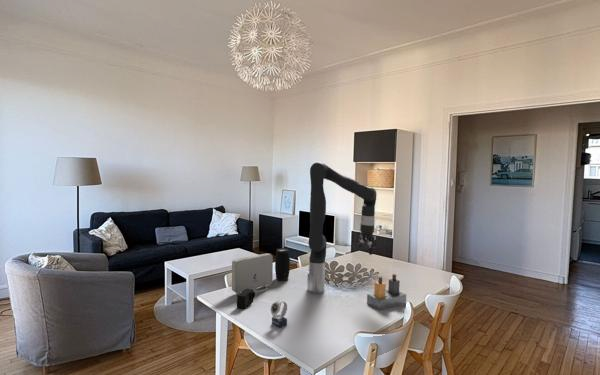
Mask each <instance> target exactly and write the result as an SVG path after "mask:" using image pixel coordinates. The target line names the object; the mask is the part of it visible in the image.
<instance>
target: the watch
mask: <svg viewBox="0 0 600 375" xmlns="http://www.w3.org/2000/svg"><path fill="white" fill-rule="evenodd" d="M282 303H283V307H282V310H281V305H282ZM287 311H288V304H287V302H286V301H284V300H282V299H279V300H277V301H275V302H273V303H272V305H271V306H270V312H271V315H272V318H271V325H273V326H275V327H276V328H278V329H282V328H284V327H286V326H288V318H287V317H285V316H286V314H287ZM279 312H280V314H278V313H279Z"/></svg>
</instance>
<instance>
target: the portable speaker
mask: <svg viewBox="0 0 600 375" xmlns="http://www.w3.org/2000/svg"><path fill="white" fill-rule="evenodd" d="M290 261H291V257H290V250H289V249H288V248H286V247H282V248H276V254H275V261H274V270H275V278H276V280H277V281H278V282H282V281H283V280H285V281H288V280H289V275H290V269H291V268H290V267H291V265H290V263H291V262H290Z"/></svg>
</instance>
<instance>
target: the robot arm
mask: <svg viewBox="0 0 600 375" xmlns="http://www.w3.org/2000/svg"><path fill="white" fill-rule="evenodd" d="M309 176H310V199H309V202H310V203H309V216H310V217H309V224H310V225H309V226H310V227H309V234H308V235H309V237H308V242H307V244H308V247H309V249H310V254H309V257H308V258H309V259H308V260H309V261H308V262H309V265H308V273H307V290H308V291H309V292H311V293H313V294H315V293H319V294H320V293H323V292H325V280H326V279H325V276H326V274H325V273H326V271H325V270H326V256H327V238H326V236H325V235H323V234H324V233H323V230H324V229H323V227H324V222H325V219H326V214H327V212H326V211H327V199H326V194H325V189H324V180H327V181H330V182H332V183H334V184H336V185H337V186H339V187H340V188H342V189H343V190H346V191H347V192H350V193H352V194H354V195H356V196H357V197H359V198H361V199H362V200H363V205H362V206H361V217H360V227H359V229H360V230H359V231H357V234H356V242H357V243H358V250H359V251H361V252H362V251H363V250H364V243H366V244H367V246H368V247H369V248H368V255H372V256H373V254H374V248H377V247H378V246H377V245H378V237H377V236H376V235H374V233H375V224H376V223H375V221H376V220H375V219H376V218H375V213H376V212H375V210H376V201H377V191H376V189H375V188H374V187H368V186H366V185H364V184H361V182H360V181H357V180H355V179H353V178H351V177H348V176H346V175H343V174H342V173H339V172H338V171H336V170H334V169H332V168H331V167H330V166H328V165H327V164H325V163H324V162H314V163H313V164H311V165H310V168H309Z"/></svg>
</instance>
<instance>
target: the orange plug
mask: <svg viewBox="0 0 600 375" xmlns="http://www.w3.org/2000/svg"><path fill="white" fill-rule="evenodd" d="M386 286H387V283H386V282H383V277H382V276H378V281H374V292H373V293H374V296H375V297H377V298H379V299H380V298H385V291H386V290H387V287H386Z"/></svg>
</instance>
